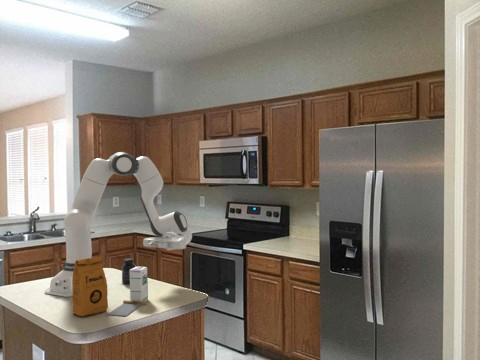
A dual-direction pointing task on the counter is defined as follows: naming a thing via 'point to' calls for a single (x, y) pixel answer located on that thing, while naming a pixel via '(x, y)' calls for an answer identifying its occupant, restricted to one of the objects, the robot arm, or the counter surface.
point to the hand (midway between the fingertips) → (154, 245)
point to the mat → (124, 310)
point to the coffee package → (89, 287)
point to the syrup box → (138, 284)
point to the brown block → (134, 302)
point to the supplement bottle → (127, 270)
